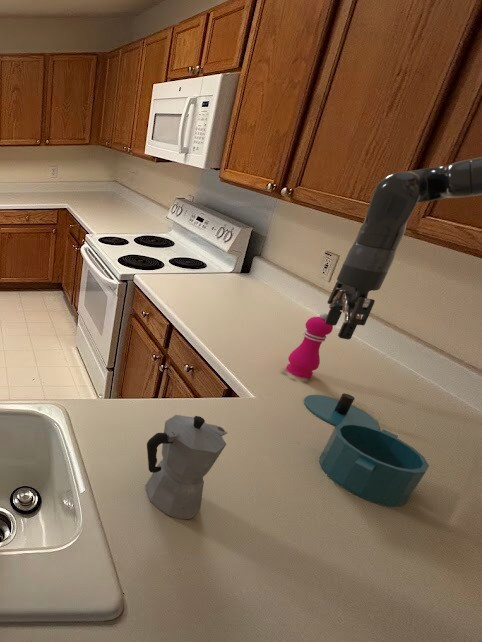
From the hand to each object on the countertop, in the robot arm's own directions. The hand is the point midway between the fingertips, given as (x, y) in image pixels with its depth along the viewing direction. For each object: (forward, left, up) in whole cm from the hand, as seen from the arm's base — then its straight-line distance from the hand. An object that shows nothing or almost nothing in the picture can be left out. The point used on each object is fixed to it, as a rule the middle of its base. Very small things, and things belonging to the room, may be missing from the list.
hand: (336, 331), depth 97 cm
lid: (-6, -6, -22) cm, 23 cm away
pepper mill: (+8, -21, -23) cm, 32 cm away
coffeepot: (+2, +58, -23) cm, 62 cm away
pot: (-16, +17, -22) cm, 33 cm away
